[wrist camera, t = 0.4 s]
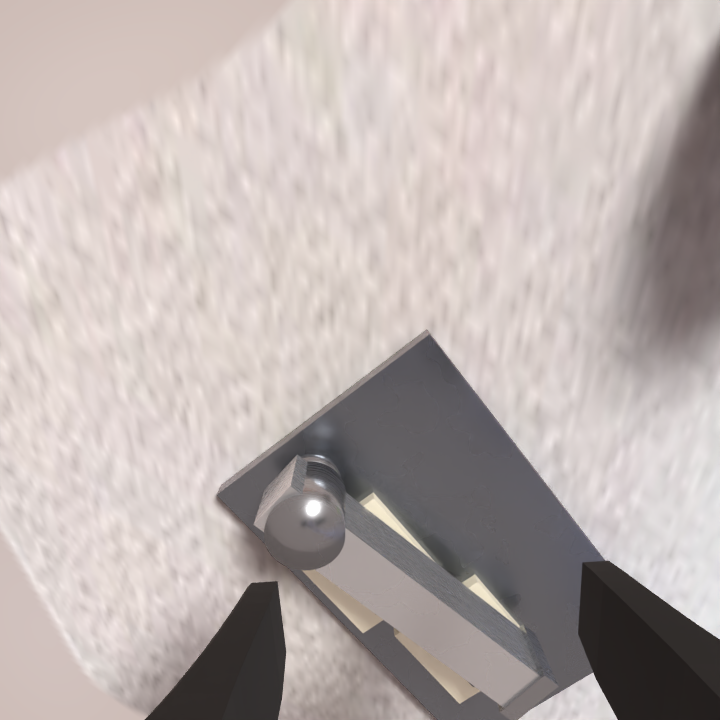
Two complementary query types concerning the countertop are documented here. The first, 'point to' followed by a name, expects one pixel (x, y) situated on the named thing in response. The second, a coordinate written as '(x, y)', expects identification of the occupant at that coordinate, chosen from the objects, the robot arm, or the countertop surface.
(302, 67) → the countertop surface
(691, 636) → the robot arm
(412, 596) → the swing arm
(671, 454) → the countertop surface
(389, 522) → the label plate
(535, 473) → the dark gray base board
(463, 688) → the label plate
